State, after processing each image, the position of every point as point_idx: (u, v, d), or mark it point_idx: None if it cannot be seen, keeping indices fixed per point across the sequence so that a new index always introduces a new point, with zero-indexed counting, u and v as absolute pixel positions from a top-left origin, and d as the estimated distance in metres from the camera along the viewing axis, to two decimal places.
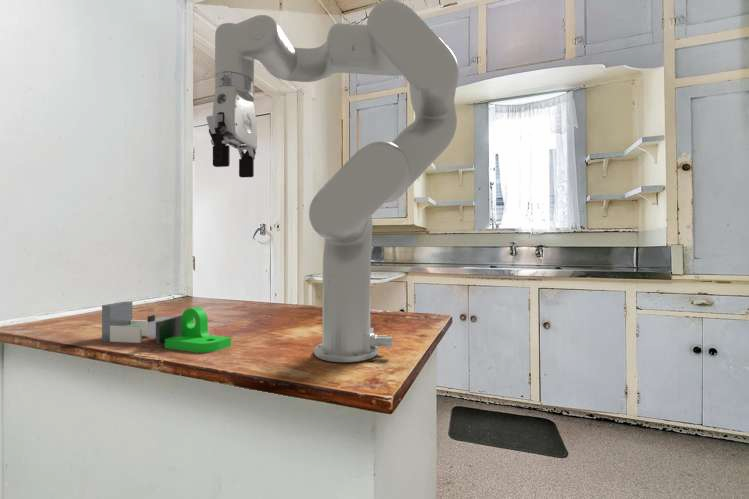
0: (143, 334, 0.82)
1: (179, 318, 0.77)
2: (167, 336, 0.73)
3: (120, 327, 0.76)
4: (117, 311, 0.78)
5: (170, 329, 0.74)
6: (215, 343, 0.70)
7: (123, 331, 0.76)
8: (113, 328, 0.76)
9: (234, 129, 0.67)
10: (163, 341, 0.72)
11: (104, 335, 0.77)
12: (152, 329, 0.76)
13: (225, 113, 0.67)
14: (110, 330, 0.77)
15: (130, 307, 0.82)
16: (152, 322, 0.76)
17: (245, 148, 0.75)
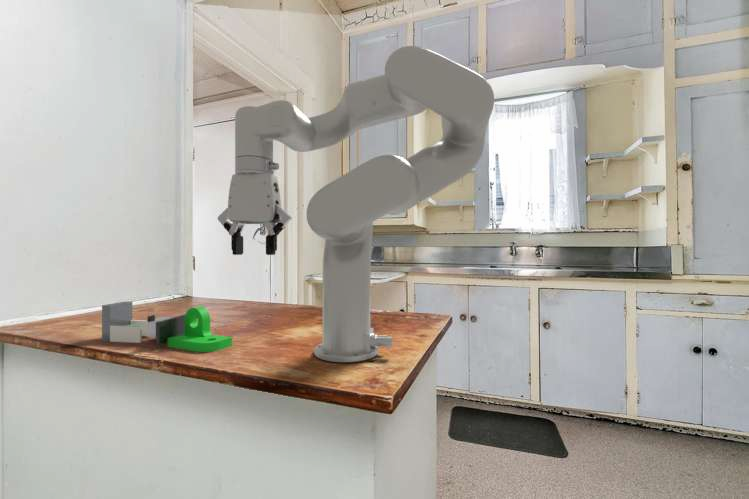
0: (143, 334, 0.82)
1: (179, 318, 0.77)
2: (167, 336, 0.73)
3: (120, 327, 0.76)
4: (117, 311, 0.78)
5: (170, 329, 0.74)
6: (215, 343, 0.70)
7: (123, 331, 0.76)
8: (113, 328, 0.76)
9: None
10: (163, 341, 0.72)
11: (104, 335, 0.77)
12: (152, 329, 0.76)
13: (279, 202, 0.72)
14: (110, 330, 0.77)
15: (130, 307, 0.82)
16: (152, 322, 0.76)
17: (242, 224, 0.73)
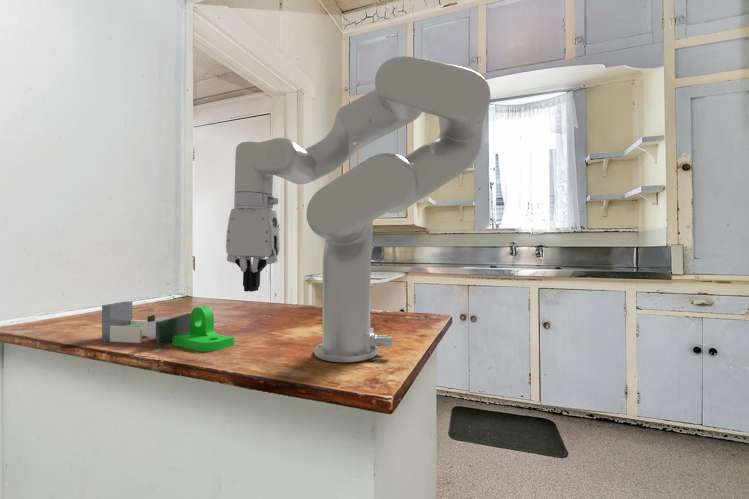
0: (143, 334, 0.82)
1: (179, 318, 0.77)
2: (167, 336, 0.73)
3: (120, 327, 0.76)
4: (117, 311, 0.78)
5: (170, 329, 0.74)
6: (216, 342, 0.70)
7: (123, 331, 0.76)
8: (113, 328, 0.76)
9: None
10: (163, 341, 0.72)
11: (104, 335, 0.77)
12: (152, 329, 0.76)
13: (277, 237, 0.72)
14: (110, 330, 0.77)
15: (130, 307, 0.82)
16: (152, 322, 0.76)
17: (249, 257, 0.73)
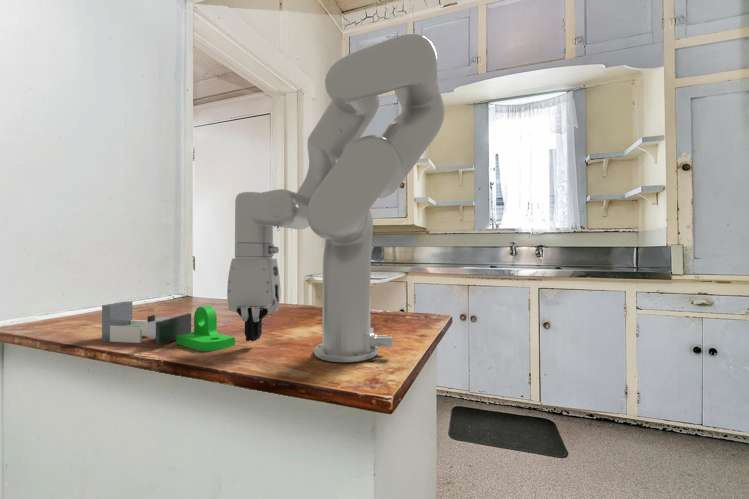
0: (143, 334, 0.82)
1: (179, 318, 0.77)
2: (167, 336, 0.73)
3: (120, 327, 0.76)
4: (117, 311, 0.78)
5: (170, 329, 0.74)
6: (217, 342, 0.70)
7: (123, 331, 0.76)
8: (113, 328, 0.76)
9: None
10: (163, 341, 0.72)
11: (104, 335, 0.77)
12: (152, 329, 0.76)
13: (278, 285, 0.72)
14: (110, 330, 0.77)
15: (130, 307, 0.82)
16: (152, 322, 0.76)
17: None
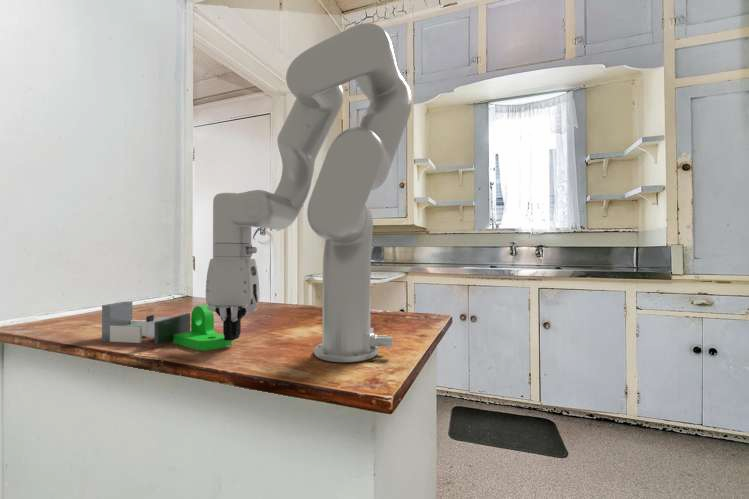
0: (143, 334, 0.82)
1: (178, 318, 0.77)
2: (166, 336, 0.73)
3: (120, 327, 0.76)
4: (117, 311, 0.78)
5: (169, 329, 0.74)
6: (213, 341, 0.71)
7: (123, 331, 0.76)
8: (113, 328, 0.76)
9: None
10: (162, 341, 0.72)
11: (104, 335, 0.77)
12: (151, 329, 0.76)
13: (256, 285, 0.73)
14: (110, 330, 0.77)
15: (130, 307, 0.82)
16: (151, 322, 0.76)
17: None
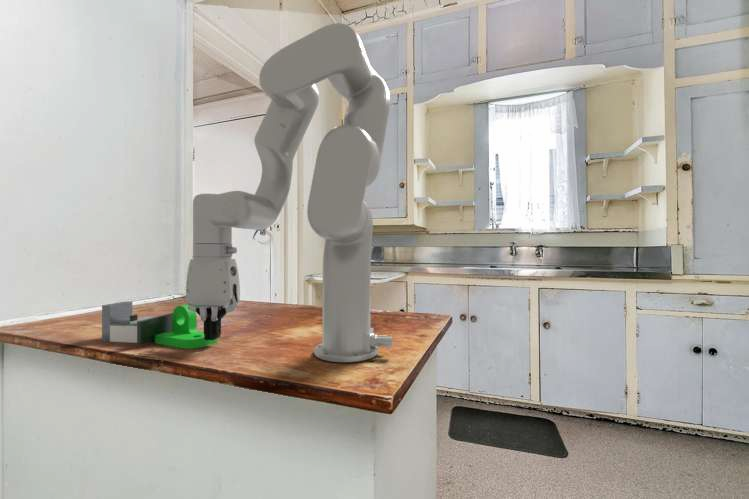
0: None
1: (162, 317, 0.78)
2: (149, 335, 0.74)
3: (120, 327, 0.76)
4: (117, 311, 0.78)
5: (152, 328, 0.75)
6: (200, 339, 0.72)
7: (123, 331, 0.76)
8: (113, 328, 0.76)
9: None
10: (145, 340, 0.73)
11: (104, 335, 0.77)
12: None
13: (237, 285, 0.74)
14: (110, 330, 0.77)
15: (130, 307, 0.82)
16: (135, 321, 0.77)
17: (209, 305, 0.74)
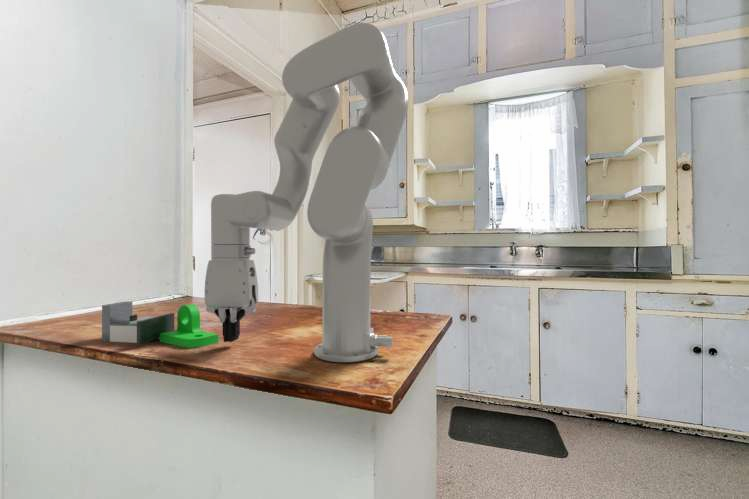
0: None
1: (161, 317, 0.78)
2: (149, 335, 0.74)
3: (120, 327, 0.76)
4: (117, 311, 0.78)
5: (152, 328, 0.75)
6: (200, 339, 0.73)
7: (123, 331, 0.76)
8: (113, 328, 0.76)
9: None
10: (144, 340, 0.73)
11: (104, 335, 0.77)
12: None
13: (255, 285, 0.73)
14: (110, 330, 0.77)
15: (130, 307, 0.82)
16: (134, 321, 0.77)
17: None
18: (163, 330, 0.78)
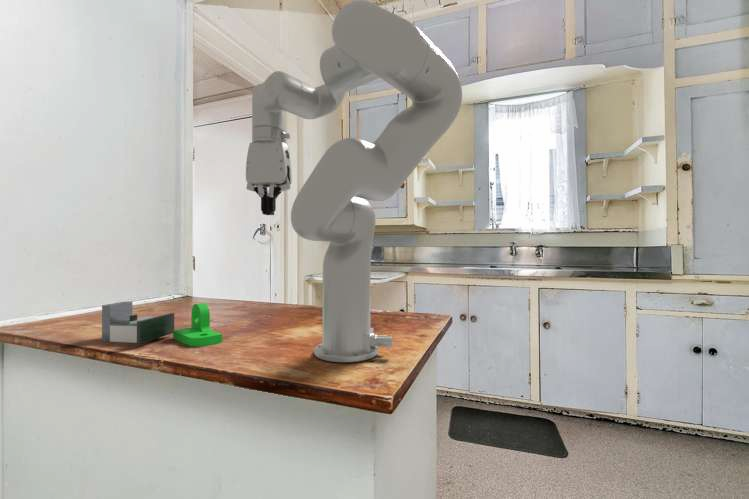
0: None
1: (161, 317, 0.78)
2: (149, 335, 0.74)
3: (120, 327, 0.76)
4: (117, 311, 0.78)
5: (152, 328, 0.75)
6: (203, 338, 0.73)
7: (123, 331, 0.76)
8: (113, 328, 0.76)
9: None
10: (144, 340, 0.73)
11: (104, 335, 0.77)
12: None
13: (289, 167, 0.84)
14: (110, 330, 0.77)
15: (130, 307, 0.82)
16: (134, 321, 0.77)
17: (265, 186, 0.84)
18: (163, 330, 0.78)
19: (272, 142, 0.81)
